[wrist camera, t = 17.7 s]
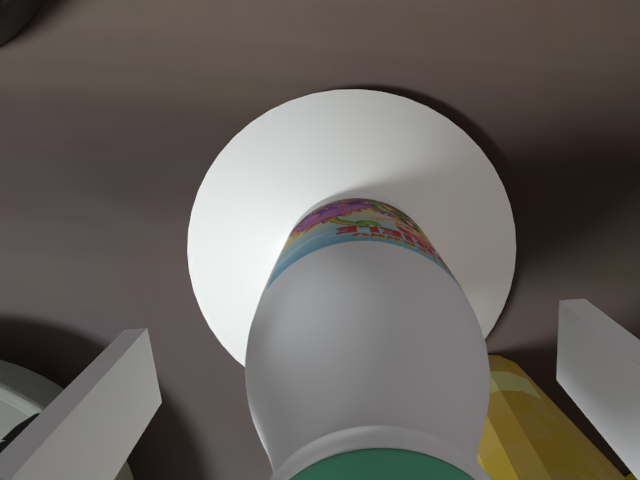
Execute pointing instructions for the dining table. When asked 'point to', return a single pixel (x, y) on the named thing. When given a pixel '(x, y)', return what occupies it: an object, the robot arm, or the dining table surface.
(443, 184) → the white round plate
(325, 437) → the milk bottle
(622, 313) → the dining table surface
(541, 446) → the book
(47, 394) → the cake pan
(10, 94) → the dining table surface
